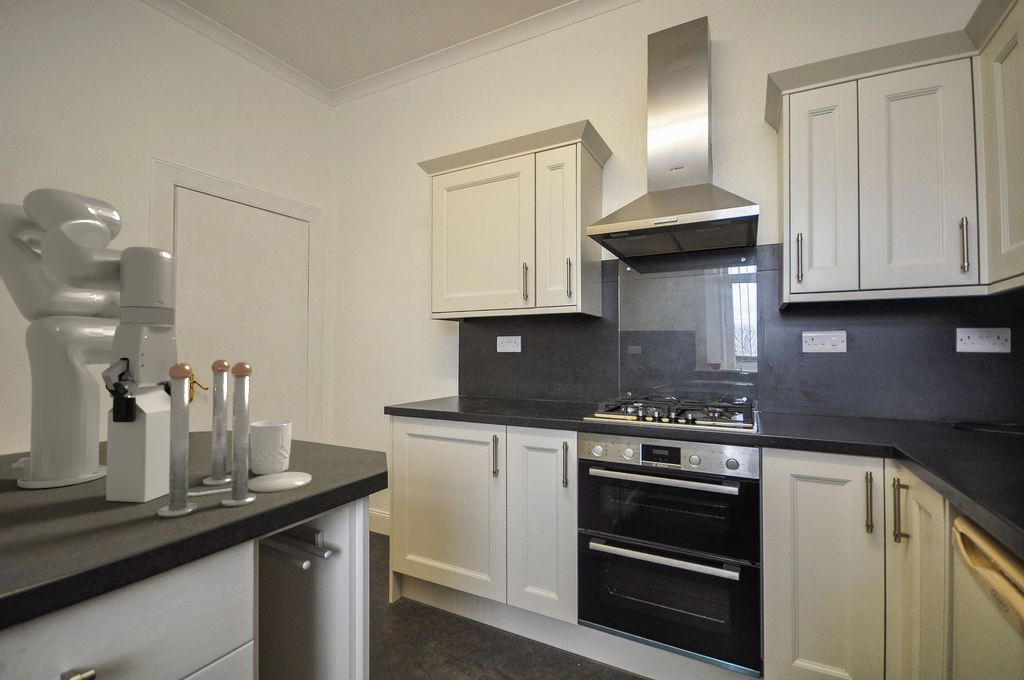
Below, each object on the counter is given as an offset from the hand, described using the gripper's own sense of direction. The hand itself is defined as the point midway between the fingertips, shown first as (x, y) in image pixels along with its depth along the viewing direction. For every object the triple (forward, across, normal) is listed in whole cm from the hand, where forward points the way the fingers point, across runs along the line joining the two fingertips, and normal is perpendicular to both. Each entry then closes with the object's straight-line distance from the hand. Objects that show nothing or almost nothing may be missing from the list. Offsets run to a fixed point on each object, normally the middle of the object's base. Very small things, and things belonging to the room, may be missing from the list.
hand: (146, 417), depth 79 cm
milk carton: (+14, 0, 0) cm, 14 cm away
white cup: (+14, -16, +14) cm, 25 cm away
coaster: (+14, -7, +20) cm, 25 cm away
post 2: (+14, -8, +8) cm, 18 cm away
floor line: (+14, -2, +10) cm, 17 cm away
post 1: (+14, +8, +11) cm, 19 cm away
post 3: (+14, +3, +18) cm, 23 cm away
